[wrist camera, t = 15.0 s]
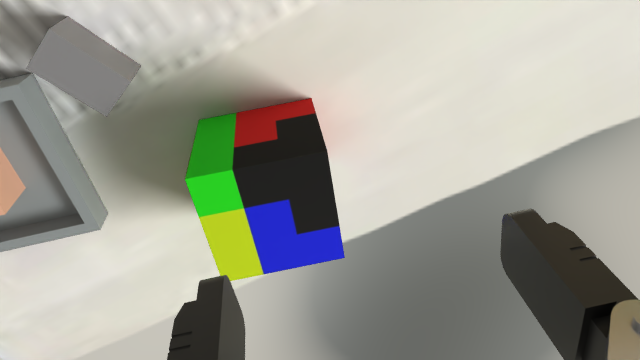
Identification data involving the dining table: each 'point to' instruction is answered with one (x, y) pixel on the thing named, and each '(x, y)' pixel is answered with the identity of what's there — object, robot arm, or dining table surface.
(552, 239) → the robot arm
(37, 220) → the slate tray
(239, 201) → the puzzle toy
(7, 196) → the terracotta brick
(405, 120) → the dining table surface
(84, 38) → the charcoal brick
